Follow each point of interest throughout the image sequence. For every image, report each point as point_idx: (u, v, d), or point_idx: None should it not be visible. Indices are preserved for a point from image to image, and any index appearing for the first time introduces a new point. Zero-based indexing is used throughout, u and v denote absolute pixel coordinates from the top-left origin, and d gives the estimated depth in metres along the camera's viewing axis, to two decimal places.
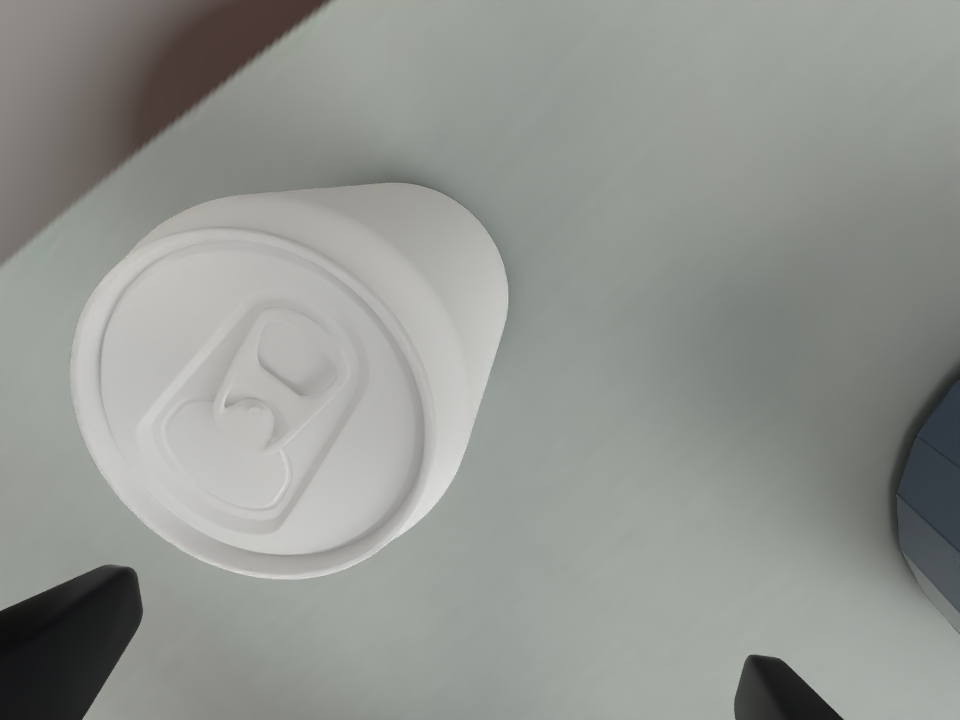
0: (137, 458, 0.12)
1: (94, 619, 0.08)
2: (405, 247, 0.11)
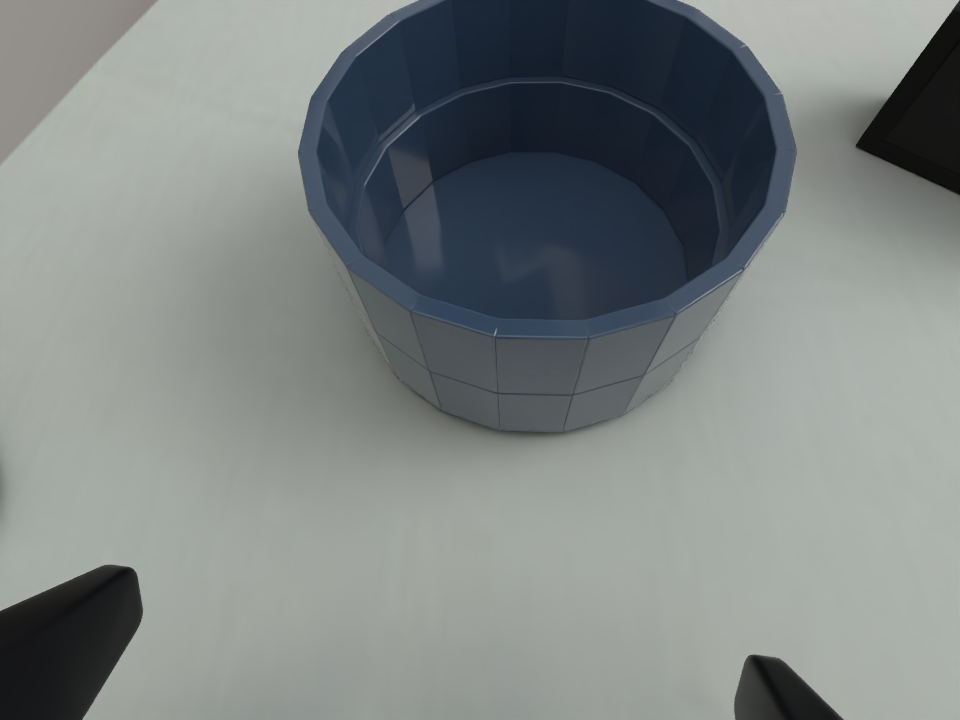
0: None
1: (94, 619, 0.08)
2: None
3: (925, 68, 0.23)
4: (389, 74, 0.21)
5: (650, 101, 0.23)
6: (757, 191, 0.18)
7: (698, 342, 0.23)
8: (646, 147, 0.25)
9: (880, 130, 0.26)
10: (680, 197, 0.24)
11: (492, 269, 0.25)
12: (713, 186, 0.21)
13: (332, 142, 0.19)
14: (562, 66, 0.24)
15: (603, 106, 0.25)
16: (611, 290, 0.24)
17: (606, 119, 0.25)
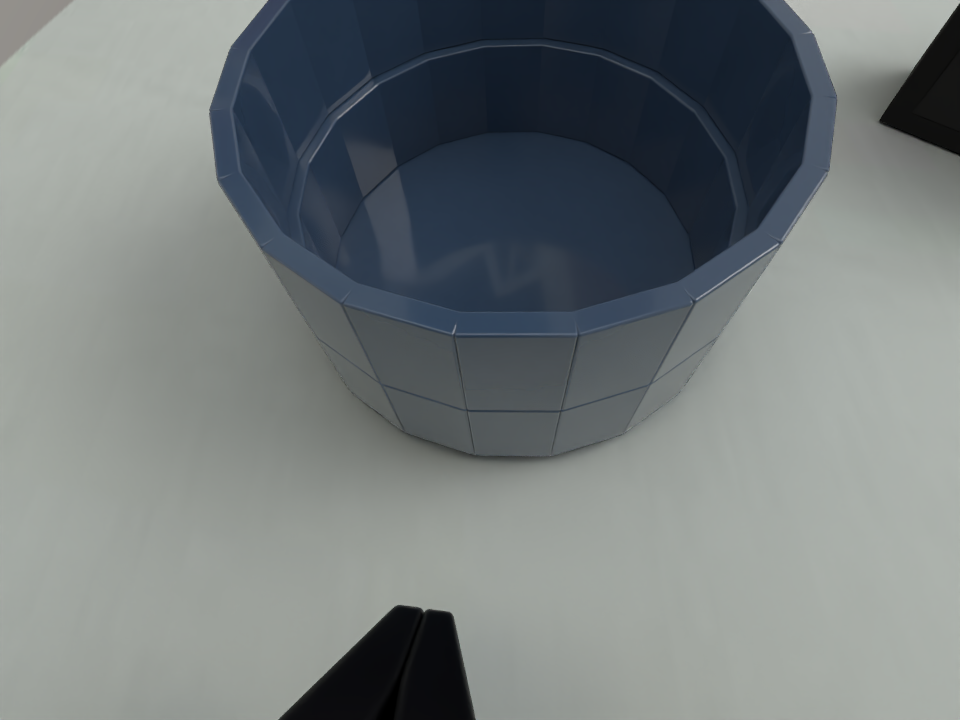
0: None
1: None
2: None
3: None
4: (335, 29, 0.18)
5: (647, 63, 0.20)
6: (786, 152, 0.14)
7: None
8: (643, 120, 0.21)
9: (908, 101, 0.23)
10: (684, 176, 0.21)
11: (466, 264, 0.21)
12: (725, 157, 0.18)
13: (259, 103, 0.16)
14: (543, 26, 0.20)
15: (592, 73, 0.21)
16: (606, 286, 0.21)
17: (596, 89, 0.21)
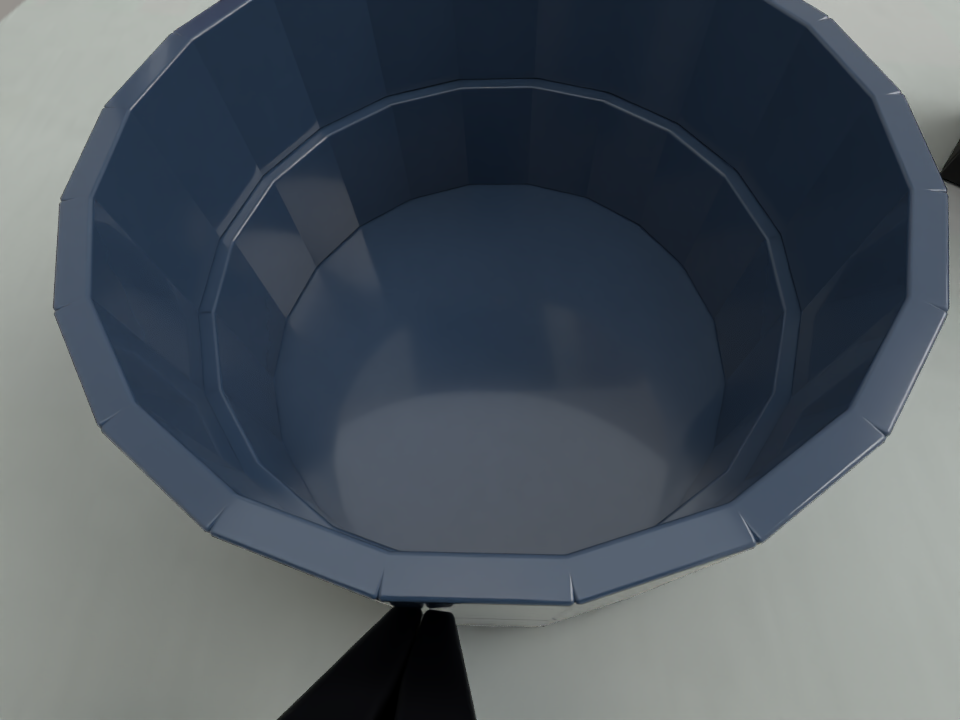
0: None
1: None
2: None
3: None
4: (264, 73, 0.14)
5: (664, 112, 0.16)
6: (868, 261, 0.10)
7: None
8: (657, 179, 0.17)
9: None
10: (709, 251, 0.17)
11: (438, 355, 0.17)
12: (767, 240, 0.14)
13: (148, 179, 0.12)
14: (534, 64, 0.16)
15: (595, 121, 0.17)
16: (612, 387, 0.17)
17: (599, 139, 0.17)
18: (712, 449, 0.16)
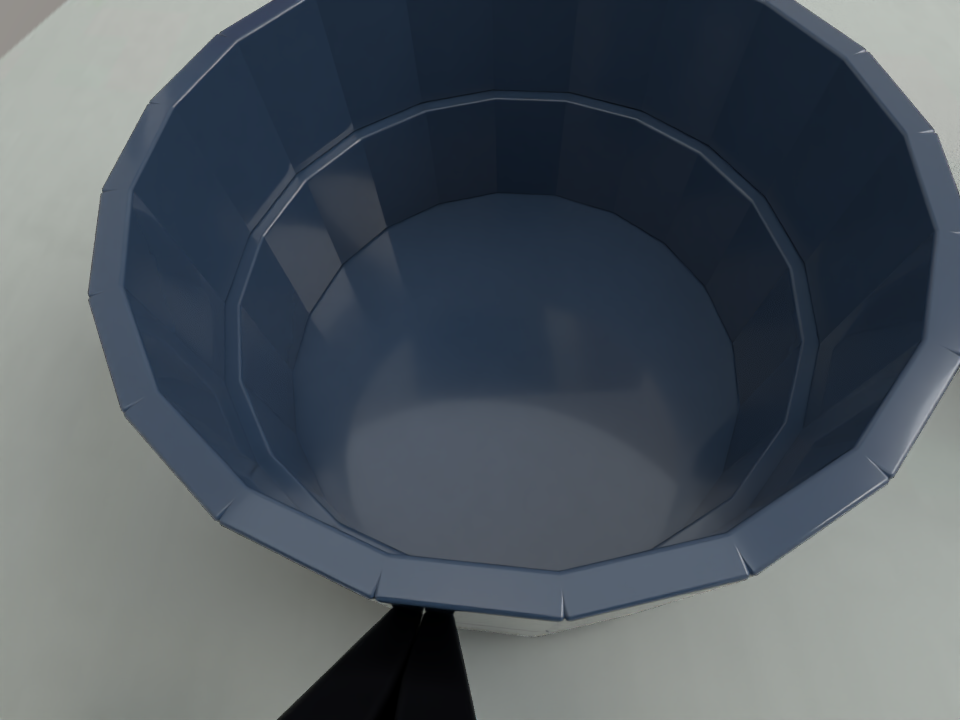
0: None
1: None
2: None
3: None
4: (303, 75, 0.14)
5: (695, 134, 0.16)
6: (888, 298, 0.10)
7: None
8: (685, 199, 0.17)
9: None
10: (732, 274, 0.16)
11: (455, 360, 0.17)
12: (790, 268, 0.14)
13: (185, 174, 0.12)
14: (569, 78, 0.17)
15: (626, 138, 0.17)
16: (625, 404, 0.17)
17: (629, 156, 0.17)
18: (721, 473, 0.15)
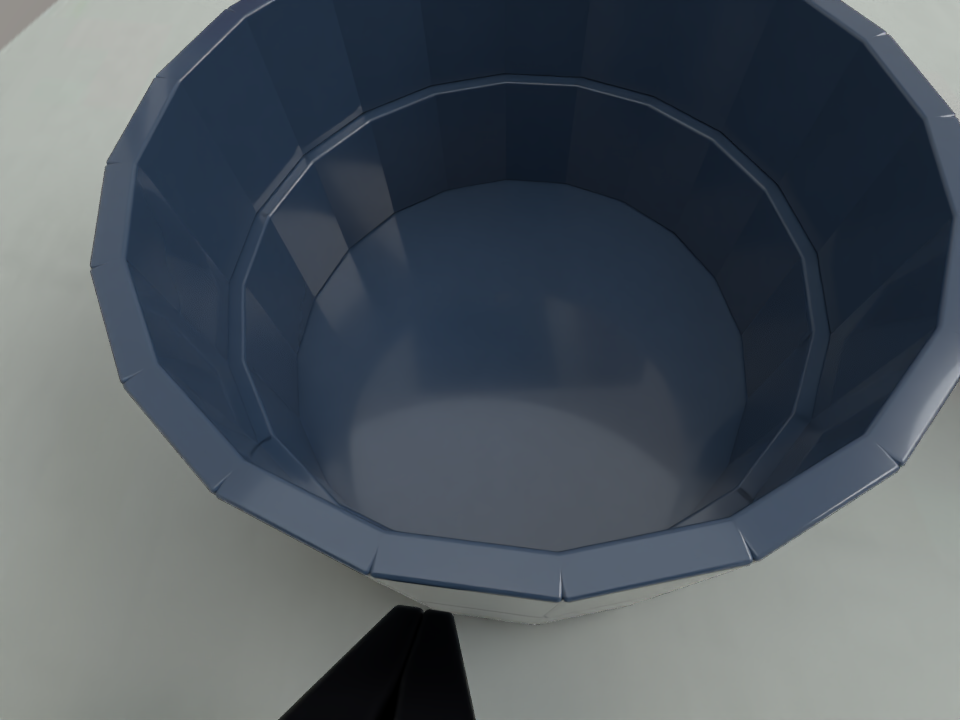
0: None
1: None
2: None
3: None
4: (312, 54, 0.14)
5: (709, 121, 0.15)
6: (903, 287, 0.10)
7: None
8: (696, 188, 0.17)
9: None
10: (743, 265, 0.16)
11: (460, 346, 0.17)
12: (802, 258, 0.14)
13: (191, 150, 0.12)
14: (581, 62, 0.16)
15: (638, 125, 0.17)
16: (630, 394, 0.16)
17: (641, 143, 0.17)
18: (726, 466, 0.15)
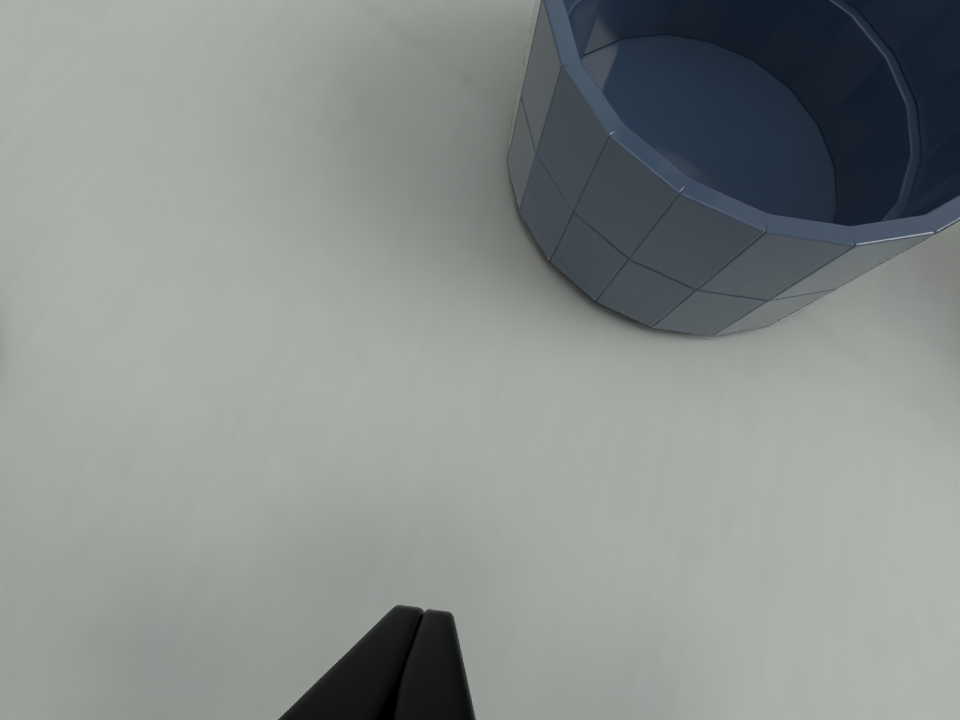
0: None
1: None
2: None
3: None
4: None
5: (890, 42, 0.21)
6: None
7: None
8: (855, 91, 0.23)
9: None
10: (863, 157, 0.23)
11: None
12: (911, 155, 0.20)
13: None
14: None
15: (836, 29, 0.23)
16: None
17: (830, 45, 0.23)
18: None
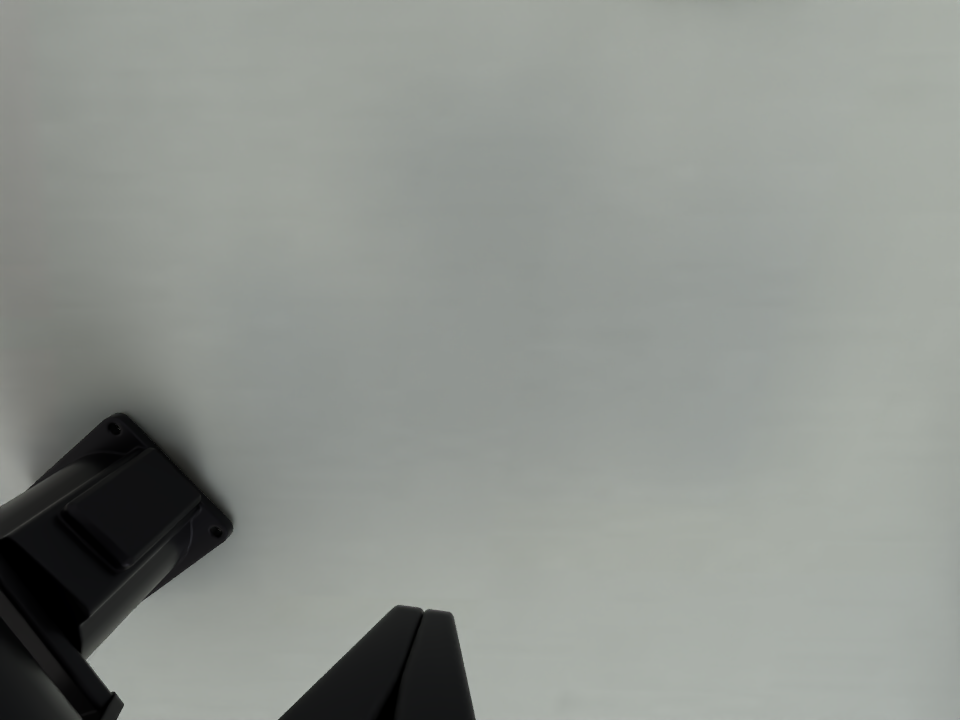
0: None
1: None
2: None
3: None
4: None
5: None
6: None
7: None
8: None
9: None
10: None
11: None
12: None
13: None
14: None
15: None
16: None
17: None
18: None
